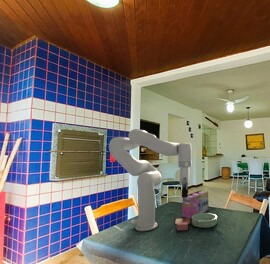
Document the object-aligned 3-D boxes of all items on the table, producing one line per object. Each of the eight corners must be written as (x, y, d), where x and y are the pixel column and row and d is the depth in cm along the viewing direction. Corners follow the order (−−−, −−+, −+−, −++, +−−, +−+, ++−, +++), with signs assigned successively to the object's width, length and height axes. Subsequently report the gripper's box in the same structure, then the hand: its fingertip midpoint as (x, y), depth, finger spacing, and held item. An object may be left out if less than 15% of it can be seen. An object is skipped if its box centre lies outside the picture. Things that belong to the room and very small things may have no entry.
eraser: (177, 230, 111) (177, 224, 111) (177, 228, 114) (177, 222, 114) (187, 229, 111) (187, 224, 112) (187, 227, 115) (187, 222, 115)
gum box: (200, 208, 153) (200, 190, 155) (209, 209, 149) (209, 191, 150) (181, 217, 133) (181, 196, 134) (191, 219, 129) (191, 197, 130)
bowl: (192, 228, 113) (192, 221, 113) (191, 219, 128) (191, 213, 128) (218, 227, 114) (218, 220, 114) (214, 218, 129) (214, 212, 129)
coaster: (175, 224, 120) (175, 223, 120) (176, 219, 129) (175, 218, 129) (190, 223, 121) (190, 223, 121) (189, 218, 130) (189, 218, 130)
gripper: (179, 163, 122) (179, 192, 120) (177, 165, 104) (176, 199, 103) (191, 163, 122) (191, 192, 120) (191, 165, 105) (191, 198, 103)
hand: (185, 195), depth 112 cm, fingers open, 9 cm apart
